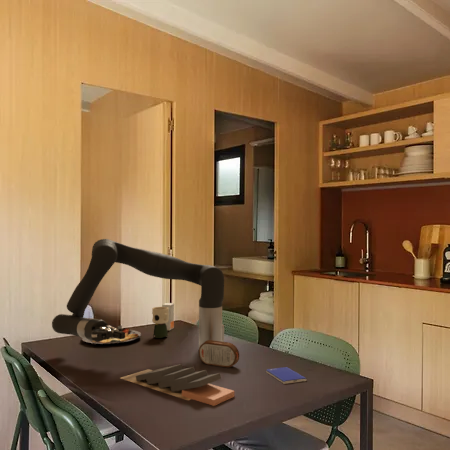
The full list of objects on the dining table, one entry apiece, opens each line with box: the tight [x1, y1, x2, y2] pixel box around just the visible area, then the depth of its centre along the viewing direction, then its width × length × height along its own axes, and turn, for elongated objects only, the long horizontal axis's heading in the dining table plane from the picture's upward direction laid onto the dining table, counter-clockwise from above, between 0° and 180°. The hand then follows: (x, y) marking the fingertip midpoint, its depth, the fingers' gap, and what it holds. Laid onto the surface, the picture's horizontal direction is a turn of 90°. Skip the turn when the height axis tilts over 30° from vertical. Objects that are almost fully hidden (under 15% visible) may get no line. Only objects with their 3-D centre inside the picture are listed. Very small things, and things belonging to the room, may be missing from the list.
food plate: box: [81, 327, 142, 345], centre depth 203 cm, size 25×23×4 cm
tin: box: [198, 340, 240, 368], centre depth 166 cm, size 15×3×8 cm, turn 65°
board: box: [120, 368, 192, 401], centre depth 145 cm, size 30×12×1 cm, turn 51°
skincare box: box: [161, 302, 175, 331], centre depth 224 cm, size 6×4×12 cm
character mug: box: [151, 306, 169, 339], centre depth 207 cm, size 11×7×13 cm, turn 39°
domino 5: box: [182, 383, 235, 407], centre depth 134 cm, size 2×9×12 cm
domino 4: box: [170, 372, 222, 392], centre depth 137 cm, size 2×9×12 cm
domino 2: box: [146, 366, 196, 384], centre depth 143 cm, size 2×9×12 cm
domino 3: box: [158, 369, 209, 388], centre depth 140 cm, size 2×9×12 cm
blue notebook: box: [265, 366, 307, 385], centre depth 154 cm, size 2×8×12 cm
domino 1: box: [136, 363, 184, 381], centre depth 146 cm, size 2×9×12 cm
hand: (123, 335), depth 157 cm, fingers closed
